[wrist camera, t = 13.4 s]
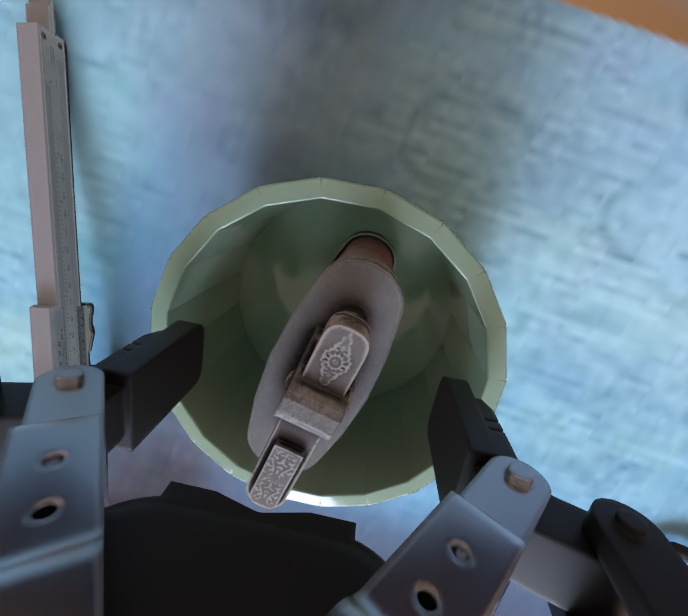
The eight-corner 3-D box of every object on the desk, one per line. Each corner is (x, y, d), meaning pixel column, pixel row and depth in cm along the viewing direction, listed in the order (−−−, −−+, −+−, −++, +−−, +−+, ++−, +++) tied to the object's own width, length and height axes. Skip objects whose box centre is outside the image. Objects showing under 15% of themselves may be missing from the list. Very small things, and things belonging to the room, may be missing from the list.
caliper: (133, 397, 23) (45, 472, 17) (117, 396, 23) (24, 470, 17) (58, 3, 16) (-128, -103, 10) (36, 3, 16) (-161, -101, 10)
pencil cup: (227, 376, 22) (149, 468, 14) (244, 161, 18) (150, 143, 11) (426, 419, 21) (448, 537, 14) (490, 208, 17) (566, 222, 10)
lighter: (348, 217, 17) (303, 253, 8) (411, 250, 17) (445, 324, 8) (283, 354, 20) (191, 506, 10) (339, 381, 20) (299, 555, 10)
